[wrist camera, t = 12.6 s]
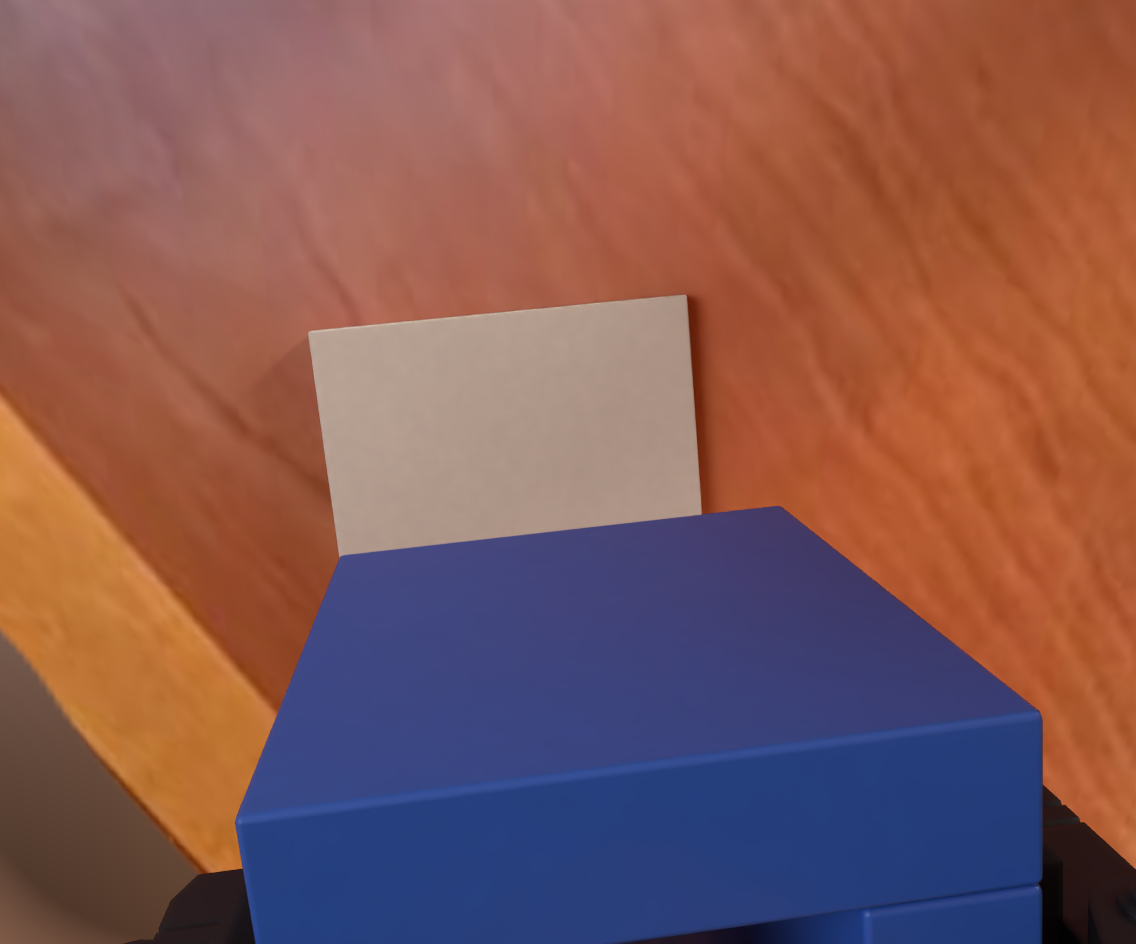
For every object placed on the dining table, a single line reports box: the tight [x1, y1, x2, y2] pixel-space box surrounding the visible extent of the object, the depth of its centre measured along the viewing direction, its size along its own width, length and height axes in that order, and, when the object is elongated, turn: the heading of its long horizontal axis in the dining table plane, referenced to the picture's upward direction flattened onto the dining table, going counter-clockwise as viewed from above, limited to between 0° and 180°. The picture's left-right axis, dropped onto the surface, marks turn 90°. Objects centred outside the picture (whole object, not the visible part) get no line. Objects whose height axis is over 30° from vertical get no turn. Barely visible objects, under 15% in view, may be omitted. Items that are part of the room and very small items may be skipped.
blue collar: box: [235, 506, 1043, 944], centre depth 14 cm, size 7×7×8 cm
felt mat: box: [308, 295, 702, 558], centre depth 35 cm, size 12×12×1 cm
